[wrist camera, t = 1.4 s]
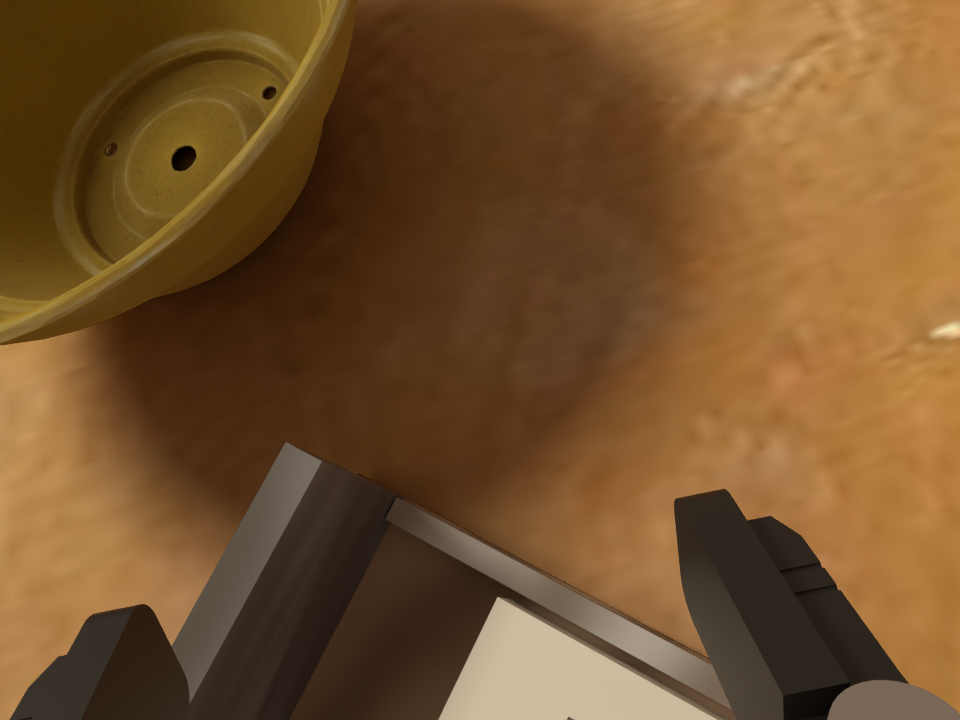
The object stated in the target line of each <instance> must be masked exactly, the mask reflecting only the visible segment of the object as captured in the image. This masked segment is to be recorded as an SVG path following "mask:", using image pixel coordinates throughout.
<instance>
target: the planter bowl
mask: <svg viewBox="0 0 960 720" xmlns="http://www.w3.org/2000/svg"><path fill="white" fill-rule="evenodd" d="M356 3H357V0H0V345H7V344H14V343H21V342H28V341H35V340H42V339H46V338H50V337H54V336H58V335H62V334H66V333H70V332H74V331H78V330H81V329H84V328H86V327H89V326H92V325H95V324H97V323H100V322H103V321H105V320H108V319H110V318H112V317H115V316H117V315H119V314H122V313H124V312H126V311H128V310H130V309H132V308H134V307H137V306H138V305H140V304H142V303H144V302H146V301H148V300H150V299H152V298H157V297H160V296H164V295H168V294H172V293H176V292H179V291H182V290H185V289H188V288H191V287H194V286H196V285H198V284H201V283H203V282H205V281H208V280H210V279H212V278H214V277H216V276H217V275H219V274H221V273H223V272H225V271H226V270H228V269H229V268H231V267H233V266H234V265H236V264H237V263H239V262H240V261H241V260H242V259H244V258H245V257H246V256H248V255H249V254H250V253H251V252H253V251H254V250H255V249H256V248H257V247H258V246H259V245H260V244H261V243H263V242H264V241H265V240H266V239H267V238H268V237H269V236H270V235H271V234H272V232H273V231H274V230H275V229H276V228H277V227H278V226H279V225H280V223H281V222H282V221H283V219H284V218H285V217H286V215H287V214H288V213H289V211H290V210H291V208H292V207H293V205H294V204H295V202H296V201H297V199H298V197H299V195H300V193H301V192H302V190H303V188H304V186H305V184H306V182H307V179H308V177H309V175H310V172H311V169H312V167H313V164H314V161H315V158H316V154H317V151H318V147H319V142H320V138H321V134H322V128H323V122H324V118H325V116H326V114H327V112H328V110H329V107H330V105H331V103H332V101H333V98H334V96H335V94H336V91H337V88H338V86H339V83H340V80H341V77H342V74H343V71H344V68H345V65H346V61H347V57H348V54H349V49H350V45H351V40H352V35H353V30H354V23H355V15H356ZM270 87H274V88H276V94H275V96H274V97H273V98H272V99H269V100H266V99H264V93H265V91H266V90H267V89H268V88H270ZM112 144H116V145H117V146H118V147H117V151H116V152H115V154H114V155H112V156H107V155H106V149H107V148H108V147H109V146H110V145H112ZM184 146H191V147H192V148H194V149H195V151H196V159H195V161H194V163H193V164H192V165H191V166H190V167H189V168H188V169H187V170H185V171H176V170H175V169H174V168H173V166H172V157H173V156H174V154H175V153H176V152H177V151H178V150H179V149H180V148H182V147H184Z"/></svg>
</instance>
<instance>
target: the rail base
mask: <svg viewBox="0 0 960 720" xmlns="http://www.w3.org/2000/svg"><path fill="white" fill-rule="evenodd" d="M497 597H501V598H507V599H512V600H514V601H515V602H517V603H519V604H521V605H523V606H524V607H526V608H528V609H530V610H532V611H533V612H535V613H537V614H539V615H541V616H542V617H544V618H546V619H548V620H550V621H551V622H553V623H555V624H557V625H559V626H560V627H562V628H564V629H566V630H568V631H569V632H571V633H573V634H575V635H577V636H578V637H580V638H582V639H584V640H586V641H587V642H589V643H591V644H593V645H595V646H596V647H598V648H600V649H602V650H604V651H605V652H607V653H609V654H611V655H613V656H614V657H616V658H618V659H620V660H622V661H623V662H625V663H627V664H629V665H631V666H632V667H634V668H636V669H638V670H640V671H641V672H643V673H645V674H647V675H649V676H650V677H652V678H654V679H656V680H658V681H659V682H661V683H663V684H665V685H667V686H668V687H670V688H672V689H674V690H675V691H677V692H679V693H681V694H683V695H684V696H686V697H688V698H690V699H692V700H693V701H695V702H697V703H699V704H701V705H702V706H704V707H706V708H708V709H710V710H711V711H713V712H715V713H717V714H719V715H720V716H722V717H724V718H726V719H728V720H737V719H736V717H735V715H734V713H733V710H732V708H731V706H730V704H729V701H728V699H727V697H726V695H725V692H724V690H723V688H722V686H721V683H720V681H719V679H718V677H717V674H716V672H715V670H714V668H713V665H712V663H711V661H710V659H708V658H707V657H705V656H703V655H701V654H699V653H697V652H695V651H693V650H691V649H690V648H688V647H686V646H684V645H682V644H680V643H678V642H676V641H674V640H673V639H671V638H669V637H667V636H665V635H663V634H661V633H659V632H657V631H656V630H654V629H652V628H650V627H648V626H646V625H644V624H642V623H640V622H639V621H637V620H635V619H633V618H631V617H629V616H627V615H625V614H624V613H622V612H620V611H618V610H616V609H614V608H612V607H610V606H608V605H607V604H605V603H603V602H601V601H599V600H597V599H595V598H593V597H591V596H590V595H588V594H586V593H584V592H582V591H580V590H578V589H576V588H574V587H573V586H571V585H569V584H567V583H565V582H563V581H561V580H559V579H558V578H556V577H554V576H552V575H550V574H548V573H546V572H544V571H542V570H541V569H539V568H537V567H535V566H533V565H531V564H529V563H527V562H525V561H524V560H522V559H520V558H518V557H516V556H514V555H512V554H510V553H508V552H507V551H505V550H503V549H501V548H499V547H497V546H495V545H493V544H491V543H490V542H488V541H486V540H484V539H482V538H480V537H478V536H476V535H475V534H473V533H471V532H469V531H467V530H465V529H463V528H461V527H459V526H458V525H456V524H454V523H452V522H450V521H448V520H446V519H444V518H442V517H441V516H439V515H437V514H435V513H433V512H431V511H429V510H427V509H425V508H424V507H422V506H420V505H418V504H416V503H414V502H412V501H410V500H409V499H407V498H405V497H403V496H401V495H399V494H397V493H395V492H393V491H392V490H390V489H388V488H386V487H384V486H382V485H380V484H378V483H376V482H375V481H373V480H371V479H369V478H367V477H365V476H362V475H360V474H355V473H353V472H351V471H349V470H346V469H344V468H342V467H340V466H338V465H335V464H333V463H331V462H329V461H327V460H324V459H322V458H320V457H318V456H316V455H313V454H311V453H309V452H307V451H305V450H302V449H300V448H298V447H296V446H294V445H291V444H289V443H287V442H285V444H284V446H283V448H282V450H281V451H280V453H279V455H278V457H277V459H276V460H275V462H274V464H273V466H272V467H271V469H270V471H269V473H268V475H267V476H266V478H265V480H264V482H263V484H262V485H261V487H260V489H259V491H258V493H257V494H256V496H255V498H254V500H253V502H252V503H251V505H250V507H249V509H248V510H247V512H246V514H245V516H244V518H243V519H242V521H241V523H240V525H239V527H238V528H237V530H236V532H235V534H234V536H233V537H232V539H231V541H230V543H229V544H228V546H227V548H226V550H225V552H224V553H223V555H222V557H221V559H220V561H219V562H218V564H217V566H216V568H215V570H214V571H213V573H212V575H211V577H210V579H209V580H208V582H207V584H206V586H205V587H204V589H203V591H202V593H201V595H200V596H199V598H198V600H197V602H196V604H195V605H194V607H193V609H192V611H191V613H190V614H189V616H188V618H187V620H186V622H185V623H184V625H183V627H182V629H181V630H180V632H179V634H178V636H177V638H176V639H175V641H174V643H173V645H172V649H173V651H174V653H175V655H176V657H177V659H178V661H179V663H180V665H181V667H182V669H183V671H184V673H185V676H186V678H187V682H188V687H189V698H190V700H189V712H188V717H187V720H439V717H440V715H441V713H442V711H443V709H444V707H445V705H446V703H447V701H448V699H449V697H450V695H451V693H452V690H453V688H454V686H455V684H456V682H457V680H458V678H459V676H460V674H461V672H462V670H463V668H464V666H465V664H466V661H467V659H468V657H469V655H470V653H471V651H472V649H473V647H474V645H475V643H476V641H477V639H478V637H479V634H480V632H481V630H482V628H483V626H484V624H485V622H486V620H487V618H488V616H489V614H490V612H491V610H492V607H493V605H494V603H495V601H496V599H497ZM573 720H574V719H573Z"/></svg>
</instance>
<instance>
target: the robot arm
mask: <svg viewBox="0 0 960 720" xmlns="http://www.w3.org/2000/svg"><path fill="white" fill-rule="evenodd" d="M674 512H675V522H676V533H677V543H678V553H679V563H680V573H681V581H682V586H683V591H684V595H685V599H686V603H687V606H688V609H689V612H690V615H691V618H692V620H693V623H694V625H695V627H696V629H697V632H698V634H699V636H700V638H701V641H702V643H703V645H704V647H705V650H706V652H707V654H708V656H709V659H710V661H711V663H712V665H713V668H714V670H715V672H716V674H717V677H718V679H719V681H720V683H721V686H722V688H723V690H724V692H725V695H726V697H727V699H728V701H729V704H730V706H731V708H732V710H733V713H734V715H735V717H736V719H737V720H960V714H959V713H958V712H957V711H956V710H955V709H954V708H953V707H951V706H950V705H949V704H948V703H946V702H945V701H944V700H942V699H940V698H939V697H937V696H936V695H934V694H932V693H930V692H928V691H926V690H924V689H922V688H919V687H916V686H913V685H910V684H909V683H908V682H907V681H906V679H905V678H904V677H903V676H902V675H901V673H900V672H899V670H898V669H897V668H896V666H895V665H894V664H893V662H892V661H891V659H890V658H889V657H888V655H887V654H886V652H885V651H884V650H883V648H882V647H881V646H880V644H879V643H878V641H877V640H876V639H875V637H874V636H873V634H872V633H871V632H870V630H869V629H868V628H867V626H866V625H865V623H864V622H863V621H862V619H861V618H860V616H859V615H858V614H857V612H856V611H855V610H854V608H853V607H852V605H851V604H850V603H849V601H848V600H847V598H846V597H845V596H844V594H843V593H842V592H841V590H838V589H837V586H836V583H835V582H834V580H833V579H832V578H831V576H830V575H829V574H828V572H827V571H826V569H825V568H822V567H821V564H820V561H819V560H818V558H817V557H816V556H815V554H814V553H813V551H812V550H811V549H810V547H809V546H808V544H807V543H806V542H805V540H804V539H803V538H802V536H801V535H799V534H798V533H796V532H795V531H793V530H792V529H790V528H788V527H787V526H785V525H784V524H782V523H781V522H779V521H778V520H776V519H775V518H773V517H772V516H768V517H763V518H758V519H753V520H748V521H747V520H746V518H745V516H744V515H743V513H742V512H741V510H740V509H739V507H738V506H737V504H736V502H735V501H734V499H733V498H732V496H731V495H730V493H729V492H728V491H727V490H725V489H721V490H716V491H711V492H706V493H701V494H696V495H691V496H686V497H681V498H676V499H675V502H674ZM189 700H190V698H189V687H188V682H187V678H186V676H185V673H184V671H183V669H182V667H181V665H180V663H179V661H178V659H177V657H176V655H175V653H174V651H173V649H172V647H171V645H170V643H169V641H168V639H167V637H166V635H165V633H164V631H163V629H162V627H161V625H160V623H159V621H158V619H157V617H156V615H155V613H154V612H153V610H152V609H151V608H150V607H149V606H147V605H145V604H141V605H136V606H131V607H126V608H121V609H116V610H111V611H106V612H101V613H96V614H93V615H91V616H90V617H89V618H88V619H87V620H86V621H85V623H84V624H83V626H82V628H81V630H80V632H79V634H78V635H77V637H76V639H75V641H74V643H73V645H72V646H71V648H70V650H69V652H68V654H67V655H64V656H59V657H58V658H57V659H56V660H55V661H54V662H53V663H52V664H51V665H50V666H49V667H48V668H47V669H46V670H45V671H44V672H43V673H42V674H41V675H40V676H39V677H38V678H37V679H36V680H35V681H34V682H33V683H32V685H31V686H30V687H29V688H28V689H27V691H26V693H25V694H24V696H23V698H22V699H21V701H20V703H19V705H18V706H17V708H16V710H15V712H14V713H13V715H12V717H11V718H10V720H187V717H188V712H189Z"/></svg>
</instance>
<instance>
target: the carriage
mask: <svg viewBox="0 0 960 720" xmlns="http://www.w3.org/2000/svg"><path fill="white" fill-rule="evenodd" d="M573 719H574V720H728V719H726V718H724V717H722V716H720V715H719V714H717V713H715V712H713V711H711V710H710V709H708V708H706V707H704V706H702V705H701V704H699V703H697V702H695V701H693V700H692V699H690V698H688V697H686V696H684V695H683V694H681V693H679V692H677V691H675V690H674V689H672V688H670V687H668V686H667V685H665V684H663V683H661V682H659V681H658V680H656V679H654V678H652V677H650V676H649V675H647V674H645V673H643V672H641V671H640V670H638V669H636V668H634V667H632V666H631V665H629V664H627V663H625V662H623V661H622V660H620V659H618V658H616V657H614V656H613V655H611V654H609V653H607V652H605V651H604V650H602V649H600V648H598V647H596V646H595V645H593V644H591V643H589V642H587V641H586V640H584V639H582V638H580V637H578V636H577V635H575V634H573V633H571V632H569V631H568V630H566V629H564V628H562V627H560V626H559V625H557V624H555V623H553V622H551V621H550V620H548V619H546V618H544V617H542V616H541V615H539V614H537V613H535V612H533V611H532V610H530V609H528V608H526V607H524V606H523V605H521V604H519V603H517V602H515V601H514V600H512V599H507V598H501V597H497V599H496V601H495V603H494V605H493V607H492V610H491V612H490V614H489V616H488V618H487V620H486V622H485V624H484V626H483V628H482V630H481V632H480V634H479V637H478V639H477V641H476V643H475V645H474V647H473V649H472V651H471V653H470V655H469V657H468V659H467V661H466V664H465V666H464V668H463V670H462V672H461V674H460V676H459V678H458V680H457V682H456V684H455V686H454V688H453V690H452V693H451V695H450V697H449V699H448V701H447V703H446V705H445V707H444V709H443V711H442V713H441V715H440V717H439V720H573Z"/></svg>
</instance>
